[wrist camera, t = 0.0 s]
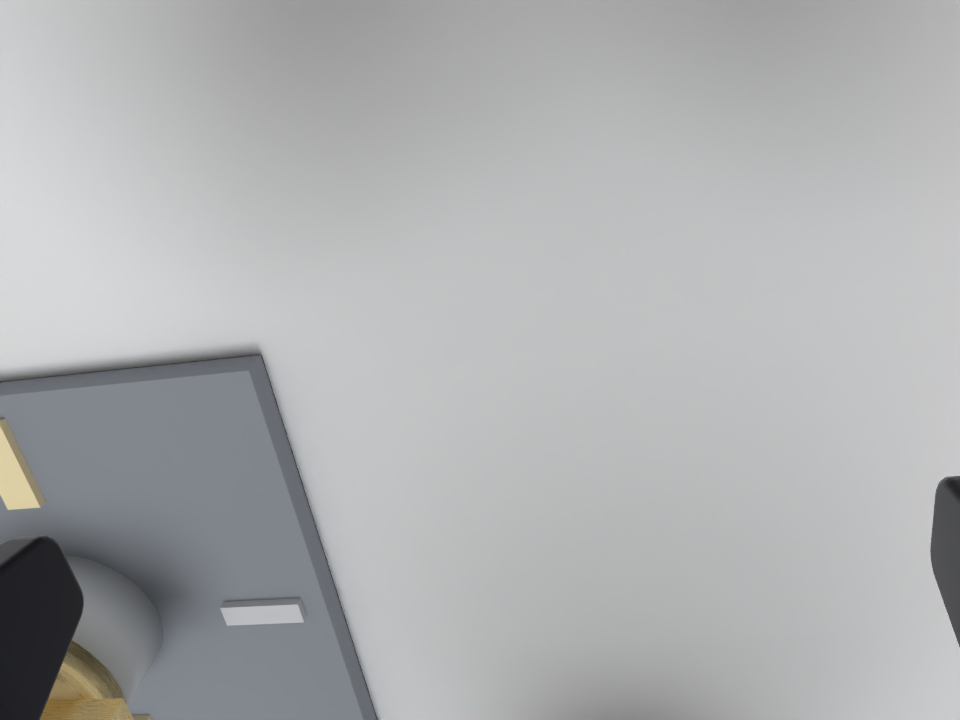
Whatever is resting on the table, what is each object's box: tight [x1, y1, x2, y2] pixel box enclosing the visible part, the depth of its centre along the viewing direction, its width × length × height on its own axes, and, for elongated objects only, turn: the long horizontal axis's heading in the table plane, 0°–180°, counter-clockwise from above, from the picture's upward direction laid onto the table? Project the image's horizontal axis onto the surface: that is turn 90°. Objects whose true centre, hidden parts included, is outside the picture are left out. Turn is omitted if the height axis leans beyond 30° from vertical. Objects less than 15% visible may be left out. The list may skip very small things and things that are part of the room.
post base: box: [0, 355, 377, 720], centre depth 29 cm, size 18×18×4 cm
